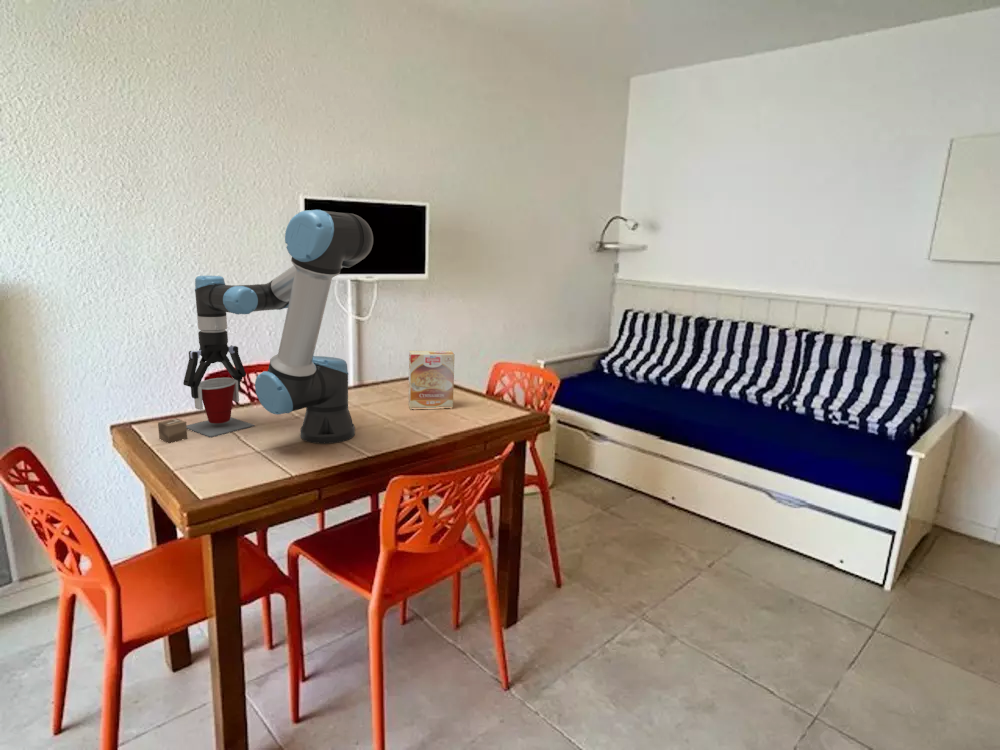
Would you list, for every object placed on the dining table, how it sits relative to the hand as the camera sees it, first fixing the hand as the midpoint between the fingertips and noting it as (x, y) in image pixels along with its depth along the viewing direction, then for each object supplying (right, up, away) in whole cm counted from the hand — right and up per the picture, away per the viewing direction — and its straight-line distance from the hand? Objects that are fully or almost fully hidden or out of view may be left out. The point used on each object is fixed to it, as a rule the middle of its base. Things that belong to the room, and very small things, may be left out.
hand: (217, 404), depth 173 cm
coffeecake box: (+59, -3, +32) cm, 67 cm away
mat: (0, -7, +2) cm, 7 cm away
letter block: (-7, -9, -10) cm, 15 cm away
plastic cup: (0, -5, +1) cm, 5 cm away
